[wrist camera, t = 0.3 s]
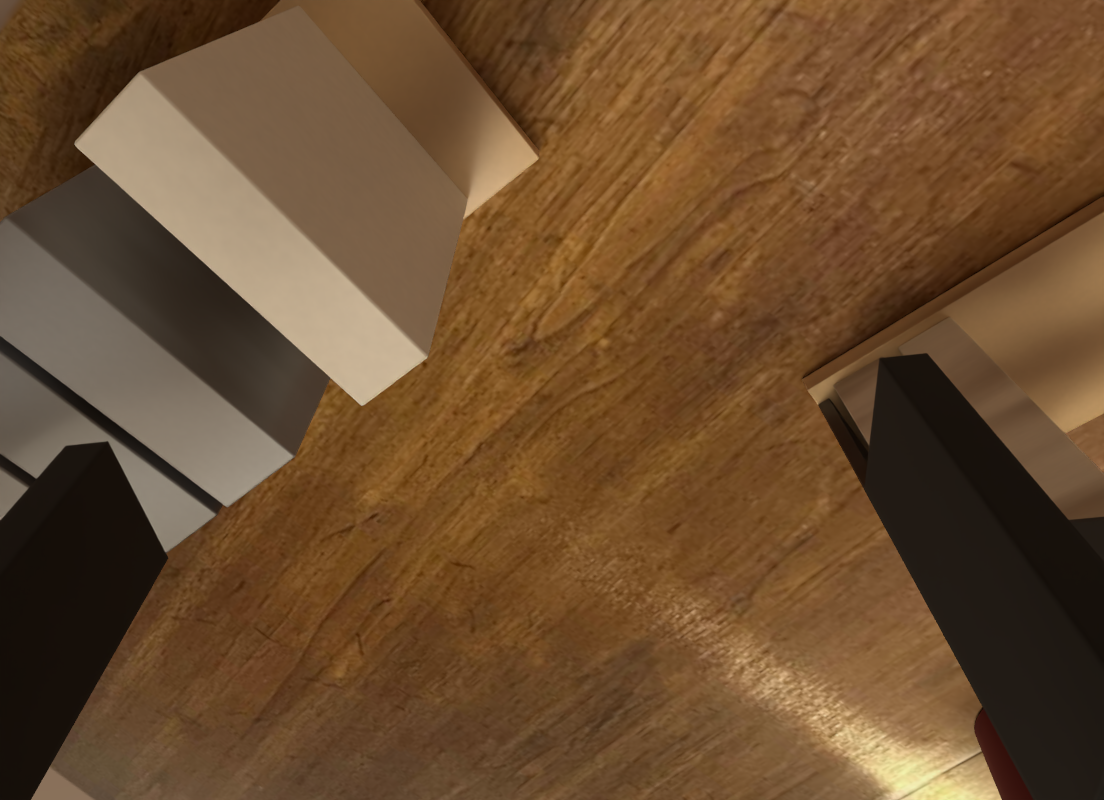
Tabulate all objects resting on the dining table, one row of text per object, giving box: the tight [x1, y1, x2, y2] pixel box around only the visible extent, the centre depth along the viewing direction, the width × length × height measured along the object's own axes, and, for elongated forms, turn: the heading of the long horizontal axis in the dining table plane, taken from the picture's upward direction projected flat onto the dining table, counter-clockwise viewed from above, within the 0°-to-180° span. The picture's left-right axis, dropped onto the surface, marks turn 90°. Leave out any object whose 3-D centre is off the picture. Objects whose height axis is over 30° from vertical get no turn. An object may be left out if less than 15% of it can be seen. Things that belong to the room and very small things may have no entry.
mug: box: [974, 709, 1033, 800], centre depth 46 cm, size 12×9×11 cm
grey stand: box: [0, 0, 539, 553], centre depth 27 cm, size 10×19×14 cm, turn 128°
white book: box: [74, 6, 468, 406], centre depth 25 cm, size 9×2×13 cm, turn 38°
